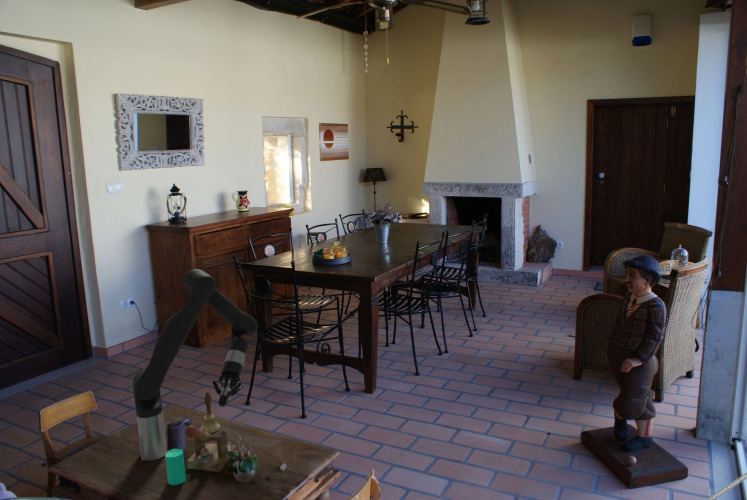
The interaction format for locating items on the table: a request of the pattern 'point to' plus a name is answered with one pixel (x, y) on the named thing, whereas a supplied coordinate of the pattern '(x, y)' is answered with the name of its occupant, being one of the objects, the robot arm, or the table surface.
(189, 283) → the robot arm
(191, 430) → the lever
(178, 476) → the candle
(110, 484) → the table surface
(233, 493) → the table surface
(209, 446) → the nutcracker bench
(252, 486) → the table surface
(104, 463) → the table surface
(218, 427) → the hand bell
